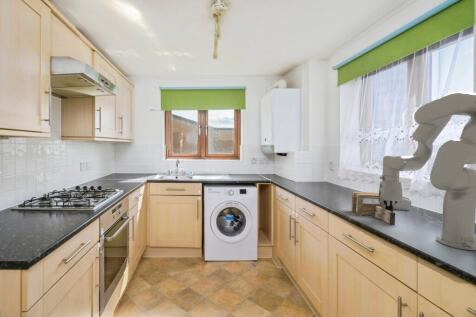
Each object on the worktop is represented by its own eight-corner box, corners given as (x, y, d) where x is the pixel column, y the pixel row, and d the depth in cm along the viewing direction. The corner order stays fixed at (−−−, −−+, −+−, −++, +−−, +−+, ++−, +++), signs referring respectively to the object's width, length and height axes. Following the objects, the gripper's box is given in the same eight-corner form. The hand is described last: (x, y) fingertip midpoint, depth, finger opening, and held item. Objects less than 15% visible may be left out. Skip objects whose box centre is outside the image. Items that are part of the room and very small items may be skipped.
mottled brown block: (373, 216, 129) (374, 205, 128) (376, 216, 129) (377, 205, 128) (391, 224, 114) (392, 212, 114) (394, 224, 114) (395, 213, 114)
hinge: (407, 208, 149) (410, 195, 145) (410, 212, 144) (414, 199, 141) (378, 206, 152) (381, 193, 149) (381, 210, 148) (384, 197, 144)
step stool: (392, 217, 128) (393, 196, 128) (358, 215, 130) (359, 194, 130) (382, 212, 138) (383, 192, 138) (351, 211, 140) (352, 191, 139)
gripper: (379, 179, 119) (378, 214, 119) (410, 180, 117) (408, 215, 118) (372, 177, 126) (371, 210, 127) (401, 178, 125) (399, 211, 125)
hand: (389, 212), depth 122 cm, fingers closed
